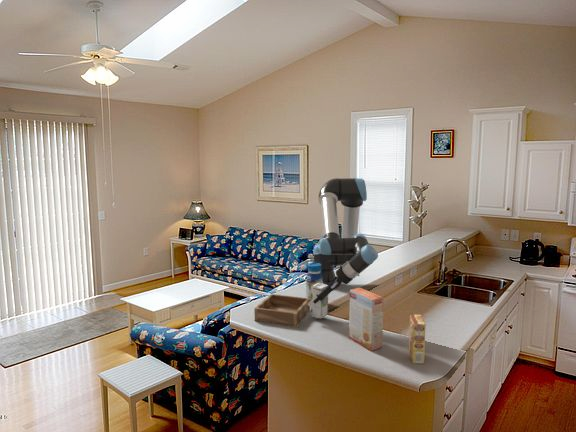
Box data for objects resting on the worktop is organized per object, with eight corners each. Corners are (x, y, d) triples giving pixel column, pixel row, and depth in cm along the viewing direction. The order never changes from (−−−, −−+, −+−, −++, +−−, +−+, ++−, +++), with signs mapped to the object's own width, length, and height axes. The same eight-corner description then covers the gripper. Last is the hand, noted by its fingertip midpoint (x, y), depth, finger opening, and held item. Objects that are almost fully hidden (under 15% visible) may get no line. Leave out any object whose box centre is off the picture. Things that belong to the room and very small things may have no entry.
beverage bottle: (320, 299, 218) (320, 261, 215) (324, 305, 210) (325, 265, 207) (304, 300, 216) (304, 262, 213) (308, 306, 208) (308, 267, 205)
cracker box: (382, 348, 165) (384, 296, 162) (370, 351, 162) (372, 299, 159) (359, 334, 177) (360, 286, 174) (348, 337, 174) (349, 289, 171)
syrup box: (317, 312, 197) (317, 282, 195) (328, 315, 194) (328, 284, 191) (310, 315, 193) (310, 285, 191) (321, 319, 189) (321, 288, 187)
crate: (271, 305, 210) (271, 293, 209) (310, 310, 203) (310, 298, 202) (254, 320, 192) (254, 308, 191) (296, 327, 185) (296, 314, 184)
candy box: (424, 364, 153) (426, 324, 150) (412, 363, 153) (414, 323, 151) (419, 352, 161) (421, 314, 159) (408, 352, 162) (409, 314, 159)
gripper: (348, 286, 176) (311, 317, 184) (357, 272, 194) (323, 301, 202) (336, 272, 176) (299, 304, 185) (346, 260, 195) (312, 289, 203)
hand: (312, 303), depth 194 cm, fingers closed on syrup box, 7 cm apart
